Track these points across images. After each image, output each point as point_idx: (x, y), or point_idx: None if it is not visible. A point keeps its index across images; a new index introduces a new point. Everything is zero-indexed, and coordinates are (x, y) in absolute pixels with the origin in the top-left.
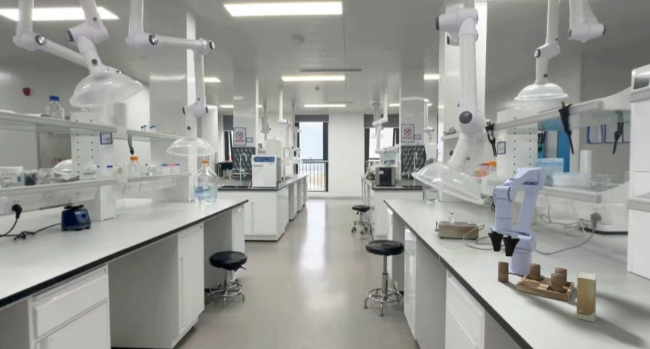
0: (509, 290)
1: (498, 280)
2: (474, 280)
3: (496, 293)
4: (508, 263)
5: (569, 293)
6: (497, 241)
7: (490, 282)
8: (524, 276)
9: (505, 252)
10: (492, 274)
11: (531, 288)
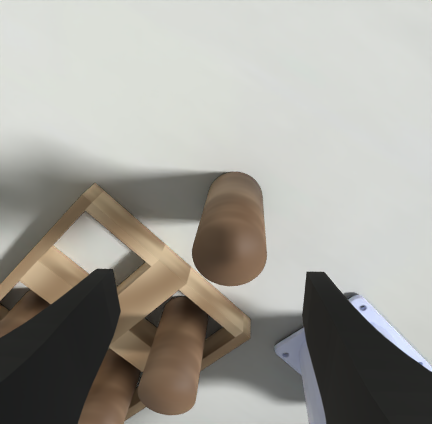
0: (89, 145)
1: (239, 173)
2: (271, 15)
3: (34, 40)
4: (208, 278)
5: None
6: (332, 390)
7: (220, 110)
8: (210, 307)
9: (92, 285)
10: (358, 203)
11: (44, 237)
